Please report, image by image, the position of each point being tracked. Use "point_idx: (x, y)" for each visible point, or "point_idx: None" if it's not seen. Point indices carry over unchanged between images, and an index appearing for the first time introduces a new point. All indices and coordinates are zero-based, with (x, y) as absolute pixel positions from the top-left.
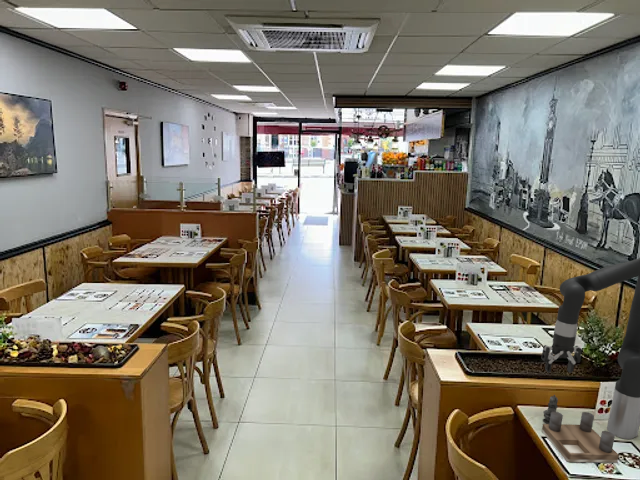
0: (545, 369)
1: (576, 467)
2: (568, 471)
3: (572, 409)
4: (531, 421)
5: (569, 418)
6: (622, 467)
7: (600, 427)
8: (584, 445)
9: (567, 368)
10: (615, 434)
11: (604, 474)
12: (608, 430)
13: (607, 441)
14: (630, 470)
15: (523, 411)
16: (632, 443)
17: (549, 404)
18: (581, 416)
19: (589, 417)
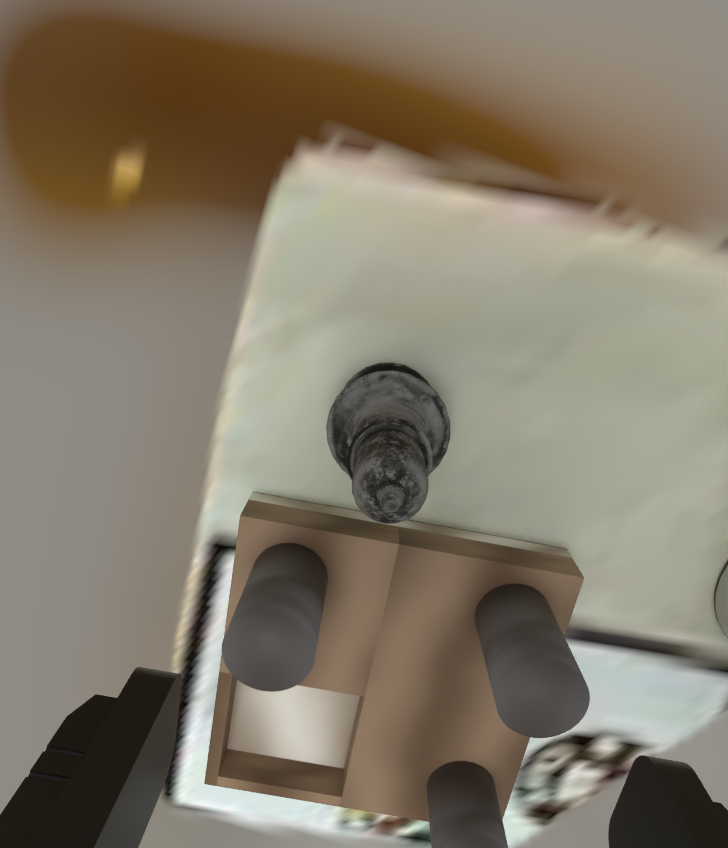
0: (95, 703)
1: None
2: (174, 792)
3: (723, 279)
4: (252, 378)
5: (581, 391)
6: None
7: (711, 523)
8: (361, 742)
9: (666, 795)
10: (721, 622)
11: (343, 835)
12: (725, 571)
13: None
14: None
15: (273, 240)
16: None
17: (356, 455)
18: (501, 658)
19: (521, 731)
